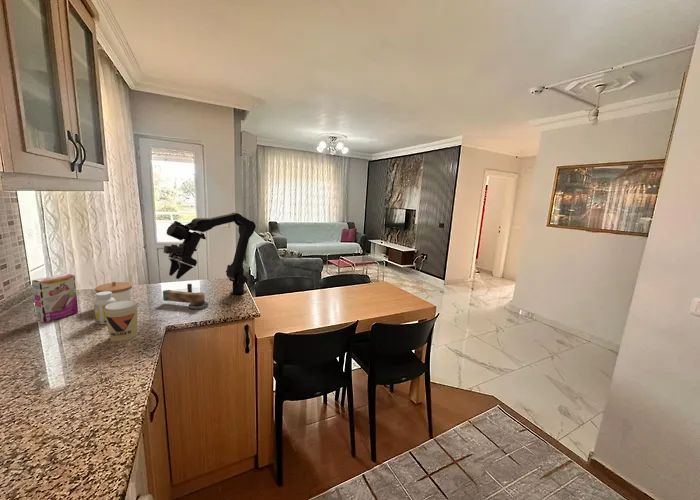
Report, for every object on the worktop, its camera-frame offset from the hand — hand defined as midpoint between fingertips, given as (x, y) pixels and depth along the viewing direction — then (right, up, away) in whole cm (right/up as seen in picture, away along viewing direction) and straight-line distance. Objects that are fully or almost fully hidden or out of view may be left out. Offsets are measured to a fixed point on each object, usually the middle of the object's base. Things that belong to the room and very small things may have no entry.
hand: (173, 277), depth 125 cm
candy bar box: (-39, -15, -11) cm, 43 cm away
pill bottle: (-19, -17, -11) cm, 28 cm away
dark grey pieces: (+2, -13, +14) cm, 19 cm away
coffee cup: (-4, -19, -22) cm, 29 cm away
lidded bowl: (-28, -13, +3) cm, 31 cm away
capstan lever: (0, -12, +8) cm, 15 cm away
